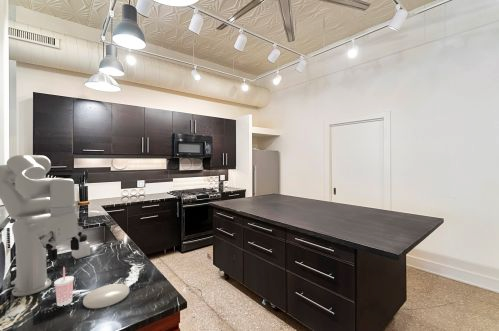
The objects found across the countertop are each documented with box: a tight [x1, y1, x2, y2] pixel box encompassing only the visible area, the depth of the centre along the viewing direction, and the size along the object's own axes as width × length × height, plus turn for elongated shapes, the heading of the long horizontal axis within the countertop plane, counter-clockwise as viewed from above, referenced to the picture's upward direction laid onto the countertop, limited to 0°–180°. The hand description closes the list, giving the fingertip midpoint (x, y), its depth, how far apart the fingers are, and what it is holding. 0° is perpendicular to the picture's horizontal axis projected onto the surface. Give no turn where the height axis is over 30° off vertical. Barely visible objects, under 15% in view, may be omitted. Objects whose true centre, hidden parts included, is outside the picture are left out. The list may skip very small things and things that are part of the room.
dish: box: [82, 283, 130, 309], centre depth 95 cm, size 16×16×1 cm
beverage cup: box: [53, 266, 75, 307], centre depth 91 cm, size 6×6×14 cm
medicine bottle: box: [71, 233, 91, 260], centre depth 137 cm, size 7×7×12 cm
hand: (64, 254), depth 91 cm, fingers open, 9 cm apart
